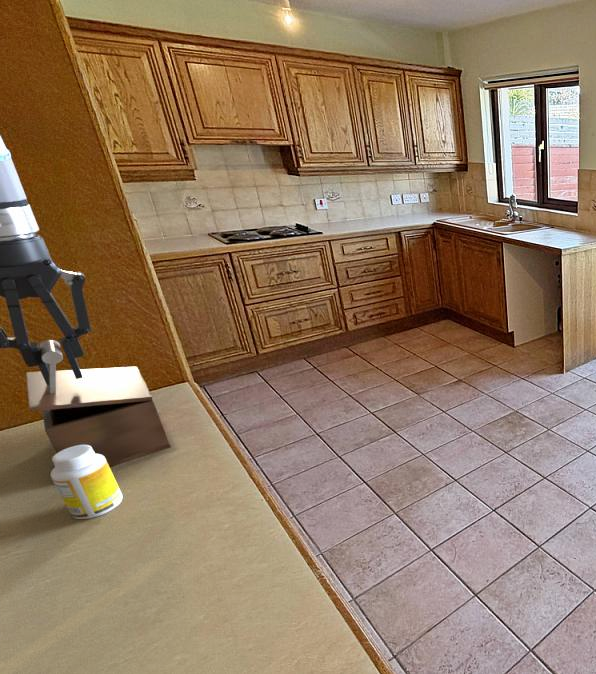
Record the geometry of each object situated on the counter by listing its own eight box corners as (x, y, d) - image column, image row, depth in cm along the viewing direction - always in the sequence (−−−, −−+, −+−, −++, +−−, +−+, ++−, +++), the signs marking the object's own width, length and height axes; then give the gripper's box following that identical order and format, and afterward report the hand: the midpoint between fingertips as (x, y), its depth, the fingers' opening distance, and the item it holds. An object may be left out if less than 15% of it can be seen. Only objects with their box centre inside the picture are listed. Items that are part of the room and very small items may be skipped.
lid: (29, 412, 71) (28, 362, 69) (26, 375, 80) (25, 331, 78) (152, 400, 81) (153, 357, 80) (137, 369, 90) (137, 330, 89)
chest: (70, 480, 76) (44, 430, 72) (62, 439, 86) (40, 393, 82) (171, 447, 85) (153, 400, 81) (154, 413, 94) (137, 369, 91)
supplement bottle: (129, 490, 75) (105, 437, 71) (116, 514, 71) (90, 459, 66) (81, 500, 73) (54, 446, 69) (64, 526, 68) (34, 469, 64)
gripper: (-92, 247, 61) (-11, 404, 70) (81, 235, 72) (132, 371, 81) (-85, 237, 65) (-9, 385, 75) (77, 227, 76) (126, 357, 86)
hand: (64, 378), depth 78 cm, fingers open, 2 cm apart
